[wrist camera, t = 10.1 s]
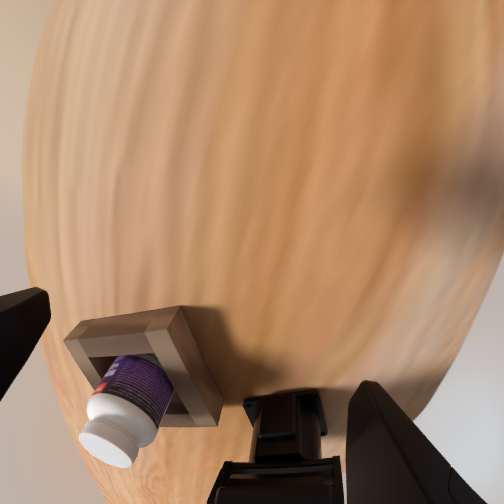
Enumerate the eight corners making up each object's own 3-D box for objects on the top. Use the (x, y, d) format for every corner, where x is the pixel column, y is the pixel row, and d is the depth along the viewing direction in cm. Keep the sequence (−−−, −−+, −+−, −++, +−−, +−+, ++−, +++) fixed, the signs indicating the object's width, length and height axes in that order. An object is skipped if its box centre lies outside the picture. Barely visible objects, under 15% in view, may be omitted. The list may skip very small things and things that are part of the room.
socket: (223, 400, 26) (217, 426, 23) (130, 403, 27) (119, 424, 25) (180, 305, 22) (166, 329, 19) (81, 321, 24) (63, 340, 21)
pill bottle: (124, 329, 24) (64, 413, 15) (186, 352, 24) (144, 451, 15) (121, 372, 26) (74, 451, 17) (176, 393, 26) (141, 482, 17)
